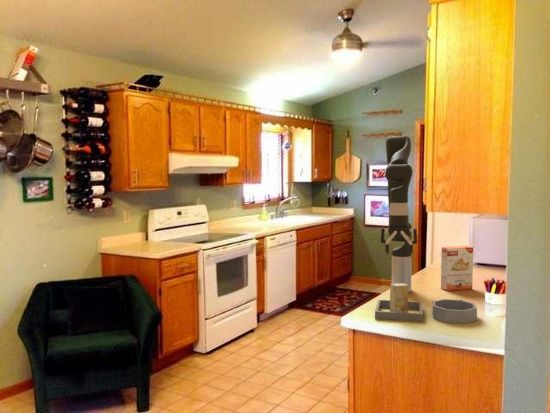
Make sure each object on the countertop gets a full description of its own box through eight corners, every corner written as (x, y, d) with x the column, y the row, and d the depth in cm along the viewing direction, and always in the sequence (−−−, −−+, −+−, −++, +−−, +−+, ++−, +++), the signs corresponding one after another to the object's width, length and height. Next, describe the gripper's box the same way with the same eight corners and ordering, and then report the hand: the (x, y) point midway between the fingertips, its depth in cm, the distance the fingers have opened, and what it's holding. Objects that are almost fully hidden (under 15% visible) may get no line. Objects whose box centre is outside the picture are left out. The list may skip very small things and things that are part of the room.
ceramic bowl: (431, 310, 197) (431, 298, 197) (473, 312, 192) (473, 300, 192) (433, 321, 182) (433, 309, 181) (478, 324, 177) (478, 311, 177)
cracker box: (447, 291, 227) (447, 248, 226) (440, 288, 233) (440, 246, 232) (473, 289, 230) (473, 246, 229) (466, 286, 236) (466, 245, 235)
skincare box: (394, 316, 190) (394, 286, 189) (389, 313, 194) (389, 283, 193) (409, 314, 192) (409, 284, 191) (403, 311, 196) (403, 282, 195)
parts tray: (378, 306, 204) (378, 299, 204) (421, 309, 199) (421, 302, 199) (374, 318, 187) (374, 311, 187) (422, 322, 182) (422, 314, 182)
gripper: (417, 213, 193) (417, 253, 193) (381, 213, 197) (381, 252, 197) (417, 214, 185) (417, 255, 186) (380, 214, 189) (380, 254, 190)
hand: (398, 253), depth 192 cm, fingers open, 8 cm apart
